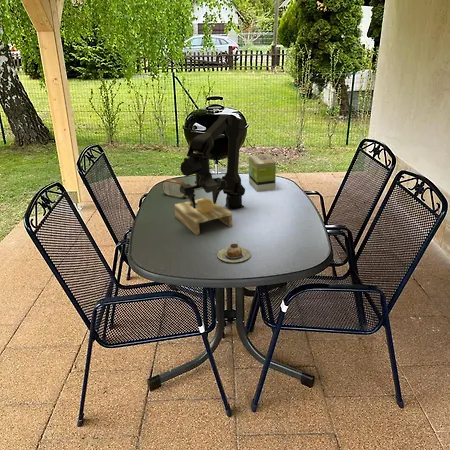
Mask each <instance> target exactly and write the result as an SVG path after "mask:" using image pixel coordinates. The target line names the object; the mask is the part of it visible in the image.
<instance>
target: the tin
mask: <svg viewBox="0 0 450 450" xmlns="http://www.w3.org/2000/svg"><path fill="white" fill-rule="evenodd" d="M185 184H186V182H184V181H183V180H178V179H172V178H166V179H165V180H164V181H163V182H162V183H161V189H162V191H163V193H164V194H165V195H166V196H169V197H174V198H177V199H184V198H185V197H187V196H186V195H184V194H182V193H181V192H180V186H181V185H185Z"/></svg>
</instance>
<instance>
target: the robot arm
mask: <svg viewBox="0 0 450 450" xmlns="http://www.w3.org/2000/svg"><path fill="white" fill-rule="evenodd" d="M246 125H247V124H246V121H245V120H244V118H236V117H233V116H231V115H227V114H221V115H219V116H218V118H217V119H216V120H215V121H214V122H213V123H212V125H210V126H209V128H208V129H206V131H205V132H203V133H200V134H198V135H196V136H195V137H194V138H192V140H191V142H190V144H189V147H188V151H187V153H186V157H184V158H183V162H181V164H180V166H179V167H180V168H179V169H180V172H181V174H182V175H184V176H185V177H189V176H192V175H195V181H194V184H195V185H191V184H189V183H185V185H181V186H180V192H181V193H182V194H184V195H186V197H187V198H188V200H189V201H190V202H191V204H192V207H193V208H194V209H195V208H196V205H195V200H196V198H195V197H196V194H195V192H196V191H199V190H204V192H205V193H207V194H209V193H212V194H211V195H212V196H211V197H212V200H213V203H214V204H216V203H217V202H218V201H217V200H218V197H219V194H220V193H221V192H222V191H223V192H222V193H223V194H225V195H226V197H225V205H224V206H225V207H227V208H228V209H230V210H236V209H241V208H244V205H243V196H244V195H245V192H246V188H245V187H244V186H243V184H242V178H241V177H240V174H239V163H240V161H239V160H240V149H241V148H240V147H241V139H242V138H243V136H244V135H245V131H246V127H247V126H246ZM224 131H225V135H226V136H227V138H228V146H227V147H228V148H227V163H226V172H225V174H224V175H222V177H213V176H212V175H213V174H212V172H211V170H210V169H211V168H210V167H211V166H210V165H211V164H210V158H211V157H213V154H212V153H211V150H212V149H213V147H214V142H215V140H217V139H218V137H219V136H221V134H222V133H224Z"/></svg>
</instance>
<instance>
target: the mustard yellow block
mask: <svg viewBox="0 0 450 450" xmlns="http://www.w3.org/2000/svg"><path fill="white" fill-rule="evenodd" d="M196 206H197V208H198V210H199V211H200V212H202V213H205V212H209V211H212V202H211V201H210V200H208V199H203V200H198V201H197V205H196Z"/></svg>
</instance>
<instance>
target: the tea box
mask: <svg viewBox="0 0 450 450" xmlns="http://www.w3.org/2000/svg"><path fill="white" fill-rule="evenodd" d="M276 166H277V165H276V161H274V160H273V159H272V158H270V157H269V156H268V155H267V154H261V155H253V156H248V183H249V185H251V186H252V187H253V189H255V191H256V192H257V193H258V192H259V193H260V192H267V191H275V190H276V181H277V180H276V177H277V176H276V175H277V173H276V169H277V168H276Z"/></svg>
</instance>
